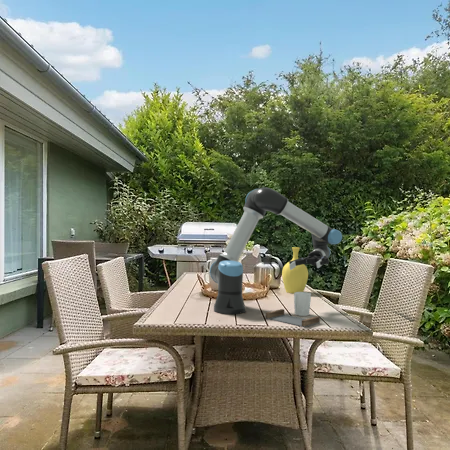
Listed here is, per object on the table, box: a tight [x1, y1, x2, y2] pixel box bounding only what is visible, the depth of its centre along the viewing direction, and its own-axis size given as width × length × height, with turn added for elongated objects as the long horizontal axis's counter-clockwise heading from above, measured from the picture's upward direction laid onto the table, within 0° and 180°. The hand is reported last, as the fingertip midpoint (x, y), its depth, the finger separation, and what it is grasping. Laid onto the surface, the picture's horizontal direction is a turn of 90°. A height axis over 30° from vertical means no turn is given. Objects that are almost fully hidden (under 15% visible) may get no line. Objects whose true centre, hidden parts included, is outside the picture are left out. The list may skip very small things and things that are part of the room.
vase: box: [281, 246, 309, 295], centre depth 254 cm, size 16×16×28 cm
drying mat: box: [265, 313, 321, 328], centre depth 179 cm, size 20×12×1 cm, turn 47°
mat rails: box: [265, 308, 321, 327], centre depth 179 cm, size 20×12×2 cm, turn 47°
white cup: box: [293, 291, 312, 317], centre depth 192 cm, size 8×8×10 cm
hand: (303, 266), depth 196 cm, fingers open, 13 cm apart
